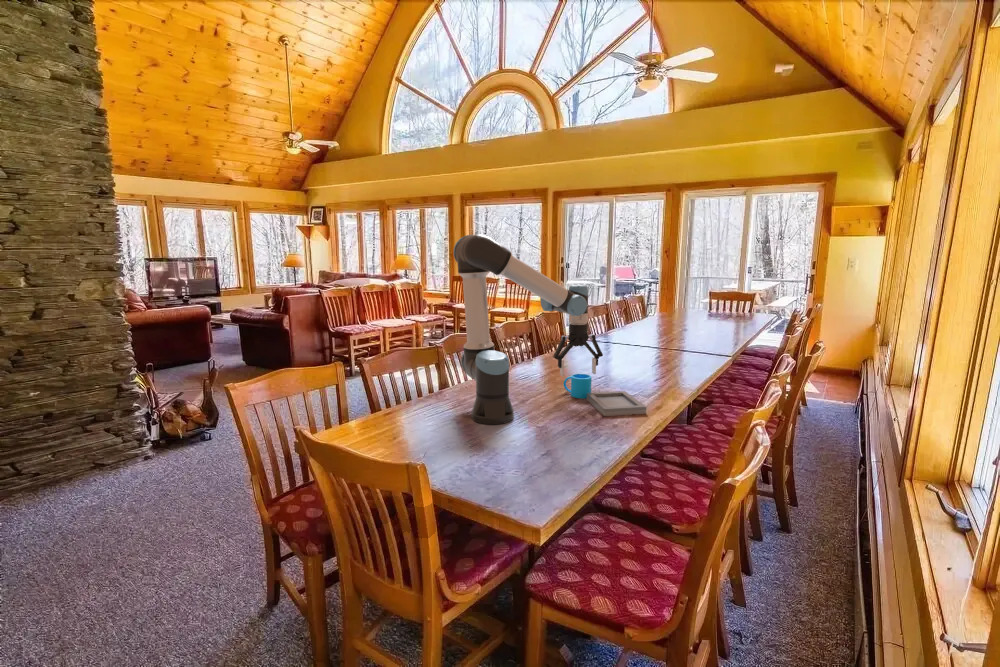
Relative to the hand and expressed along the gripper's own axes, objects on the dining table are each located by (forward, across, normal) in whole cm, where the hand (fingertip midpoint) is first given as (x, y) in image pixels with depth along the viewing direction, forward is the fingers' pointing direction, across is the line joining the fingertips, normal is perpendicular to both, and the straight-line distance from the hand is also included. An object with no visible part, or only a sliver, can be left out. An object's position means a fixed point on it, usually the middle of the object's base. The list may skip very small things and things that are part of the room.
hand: (577, 374), depth 203 cm
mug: (+9, -1, 0) cm, 9 cm away
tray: (+9, +9, -17) cm, 21 cm away
